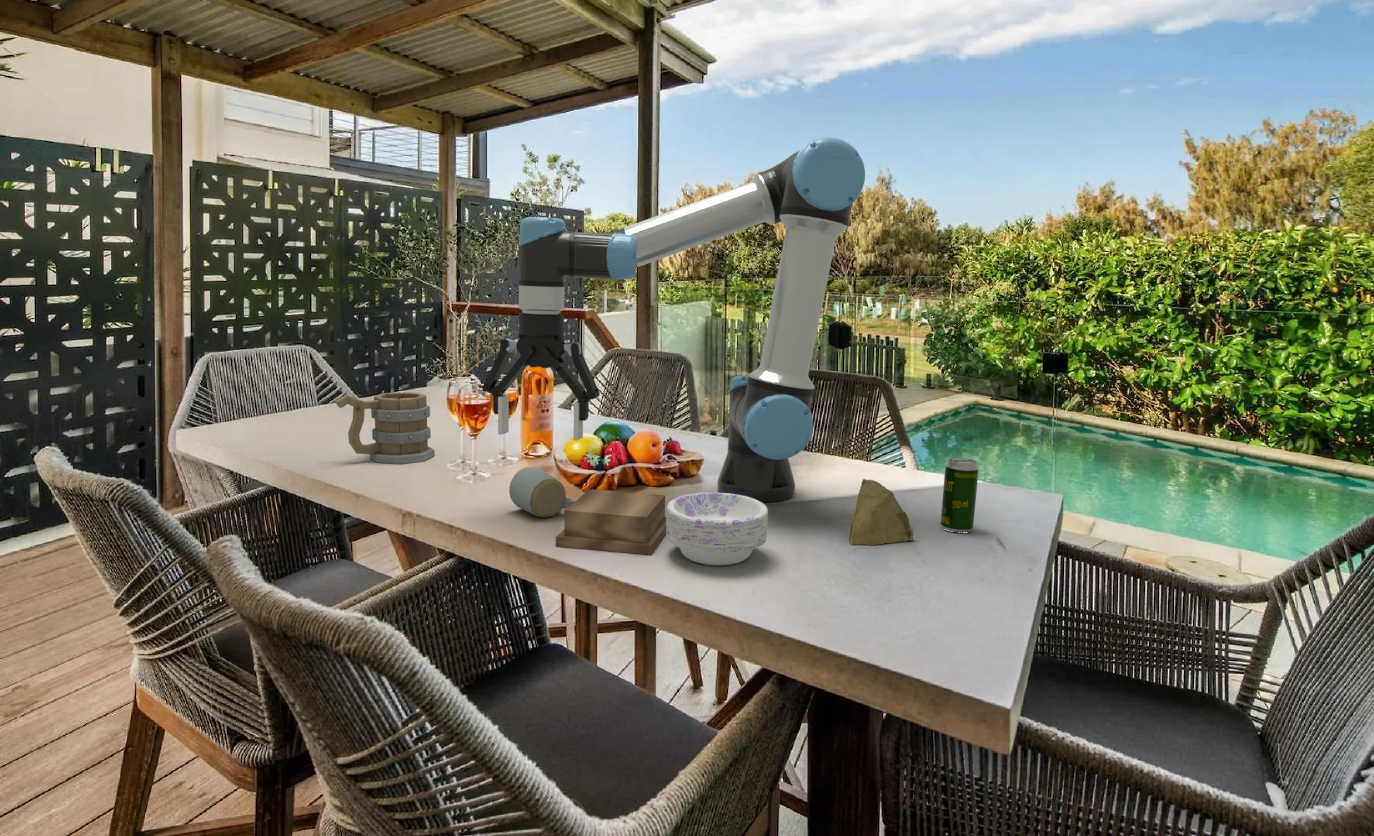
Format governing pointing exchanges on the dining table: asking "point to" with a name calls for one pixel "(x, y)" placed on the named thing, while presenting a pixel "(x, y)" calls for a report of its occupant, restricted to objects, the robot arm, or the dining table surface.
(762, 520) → the paper bowls
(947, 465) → the beer can
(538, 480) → the ceramic mug
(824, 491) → the dining table surface
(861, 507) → the rock
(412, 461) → the tankard
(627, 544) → the walnut riser
